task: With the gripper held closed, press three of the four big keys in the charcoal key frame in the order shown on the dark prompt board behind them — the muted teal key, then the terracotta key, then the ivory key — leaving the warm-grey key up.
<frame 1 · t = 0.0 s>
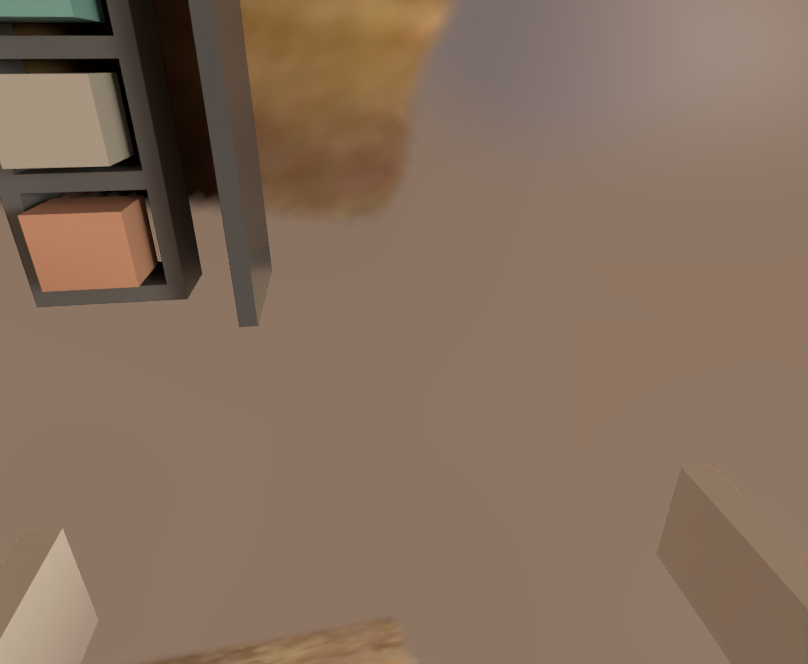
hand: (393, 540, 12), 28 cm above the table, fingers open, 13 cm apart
key 4: (94, 241, 31), point 5 cm above the table, slide at 0.0 cm
key frame: (81, 49, 30), on the table
prompt screen: (236, 49, 31), on the table
key 3: (61, 118, 28), point 5 cm above the table, slide at 0.0 cm
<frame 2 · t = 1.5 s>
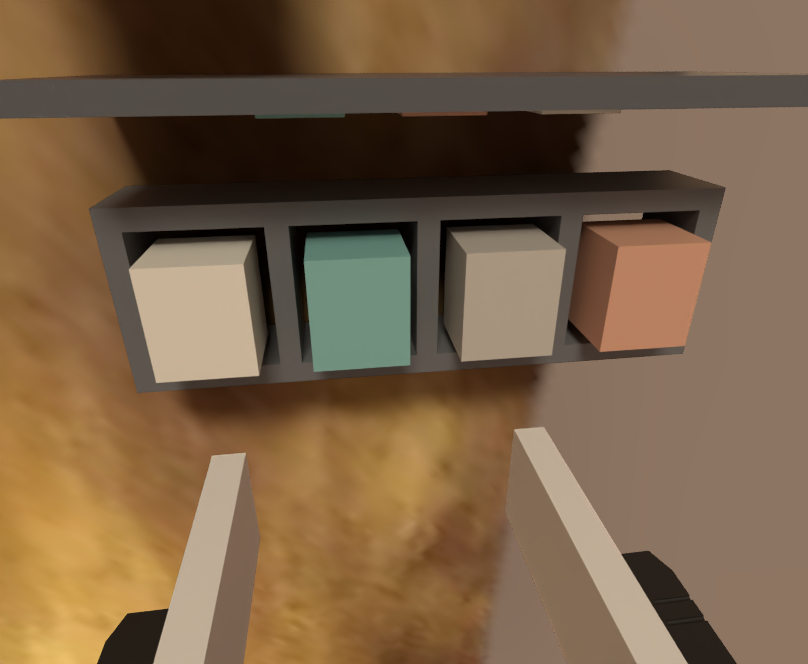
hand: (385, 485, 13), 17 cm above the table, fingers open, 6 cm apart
key 2: (357, 297, 24), point 5 cm above the table, slide at 0.0 cm
key 1: (207, 306, 23), point 5 cm above the table, slide at 0.0 cm
key 4: (630, 282, 26), point 5 cm above the table, slide at 0.0 cm
key frame: (413, 260, 29), on the table
prompt screen: (414, 85, 25), on the table
key 3: (498, 290, 25), point 5 cm above the table, slide at 0.0 cm
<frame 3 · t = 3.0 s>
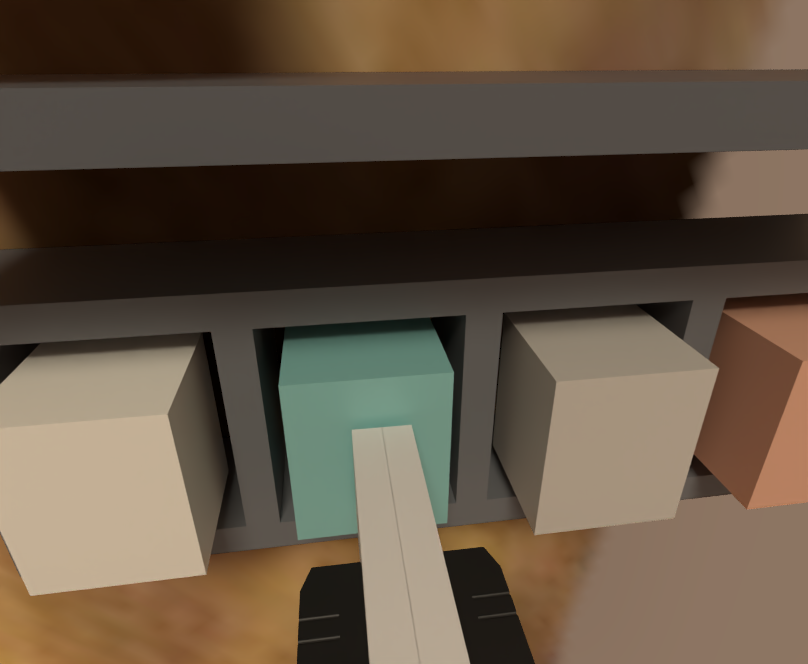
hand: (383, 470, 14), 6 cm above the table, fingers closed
key 2: (365, 416, 16), point 4 cm above the table, slide at 0.8 cm, touching gripper
key 1: (121, 455, 14), point 5 cm above the table, slide at 0.0 cm
key 4: (785, 394, 17), point 5 cm above the table, slide at 0.0 cm
key frame: (444, 344, 20), on the table
prompt screen: (453, 90, 16), on the table
key 3: (587, 412, 16), point 5 cm above the table, slide at 0.0 cm
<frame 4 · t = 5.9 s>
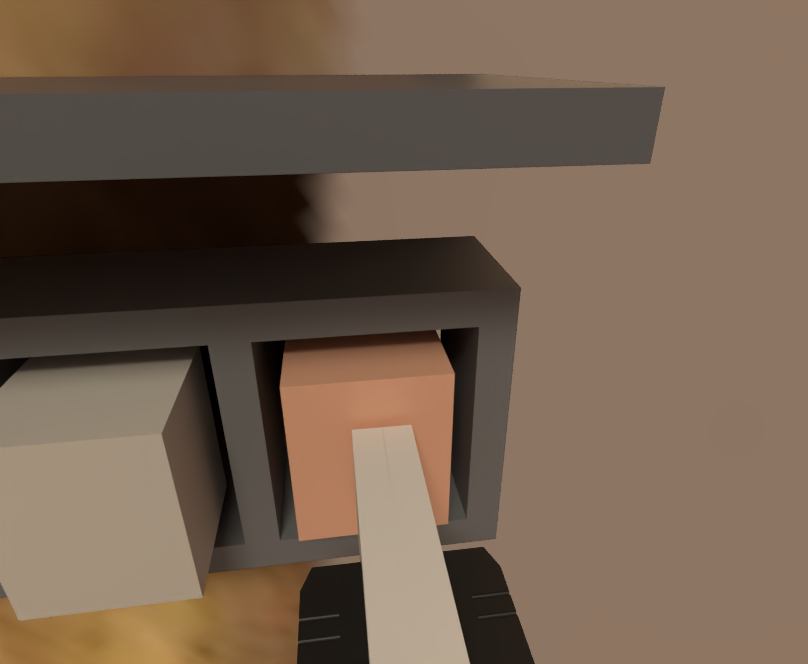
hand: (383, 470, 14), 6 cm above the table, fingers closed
key 4: (366, 417, 16), point 3 cm above the table, slide at 1.5 cm, touching gripper
key frame: (58, 383, 18), on the table
key 3: (115, 472, 14), point 5 cm above the table, slide at 0.0 cm
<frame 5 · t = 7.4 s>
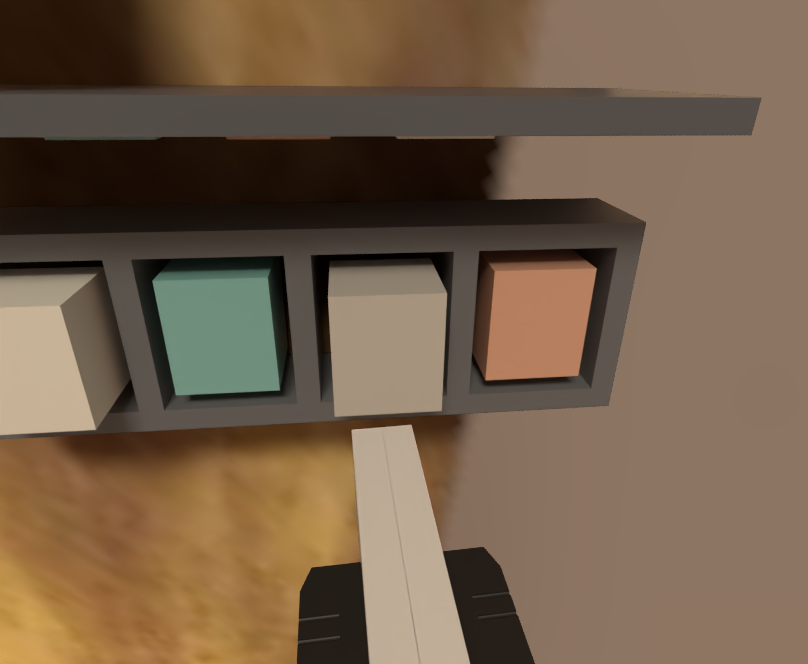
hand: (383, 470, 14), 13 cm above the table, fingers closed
key 2: (229, 318, 23), point 3 cm above the table, slide at 2.2 cm
key 1: (43, 347, 21), point 5 cm above the table, slide at 0.0 cm
key 4: (524, 307, 24), point 3 cm above the table, slide at 2.1 cm
key frame: (309, 293, 26), on the table
prompt screen: (294, 99, 22), on the table
key 3: (384, 334, 22), point 5 cm above the table, slide at 0.0 cm
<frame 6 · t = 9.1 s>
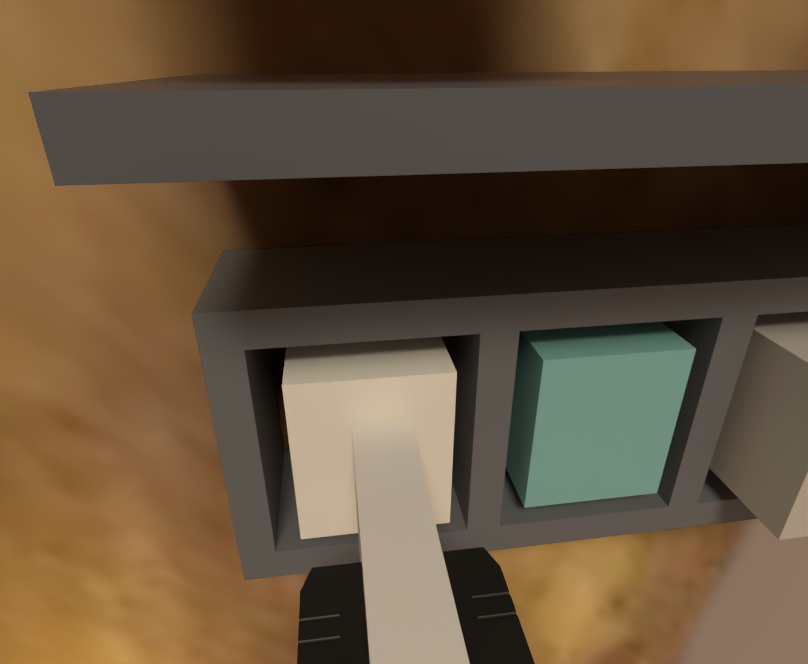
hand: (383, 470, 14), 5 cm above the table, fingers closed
key 2: (575, 393, 17), point 3 cm above the table, slide at 2.2 cm
key 1: (367, 416, 16), point 3 cm above the table, slide at 1.9 cm, touching gripper
key frame: (629, 346, 20), on the table
prompt screen: (683, 90, 16), on the table
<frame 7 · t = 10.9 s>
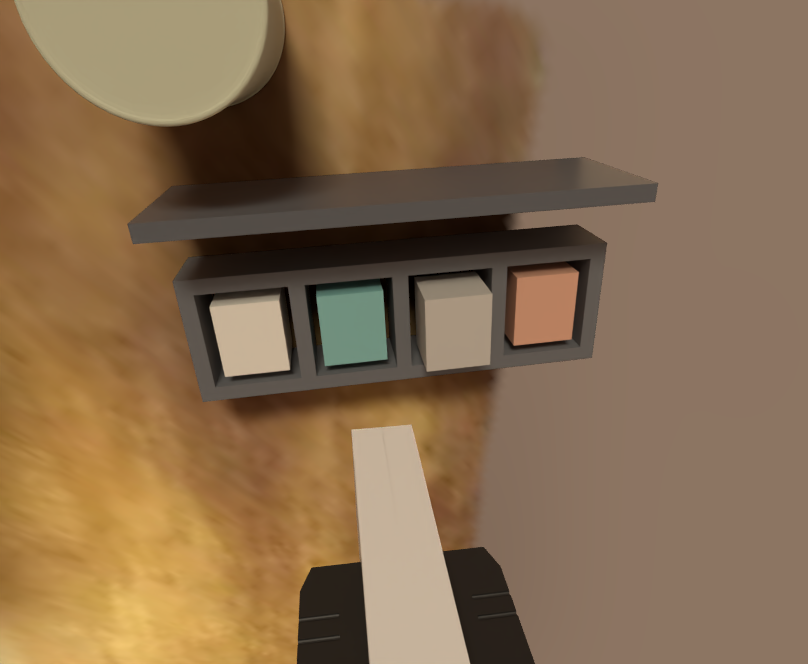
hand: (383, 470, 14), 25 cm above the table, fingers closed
key 2: (351, 316, 37), point 3 cm above the table, slide at 2.2 cm
can: (201, 19, 31), on the table
key 1: (254, 326, 36), point 3 cm above the table, slide at 2.2 cm
key 4: (534, 298, 38), point 3 cm above the table, slide at 2.1 cm
key frame: (393, 297, 40), on the table
prompt screen: (387, 178, 36), on the table
key 3: (451, 320, 36), point 5 cm above the table, slide at 0.0 cm
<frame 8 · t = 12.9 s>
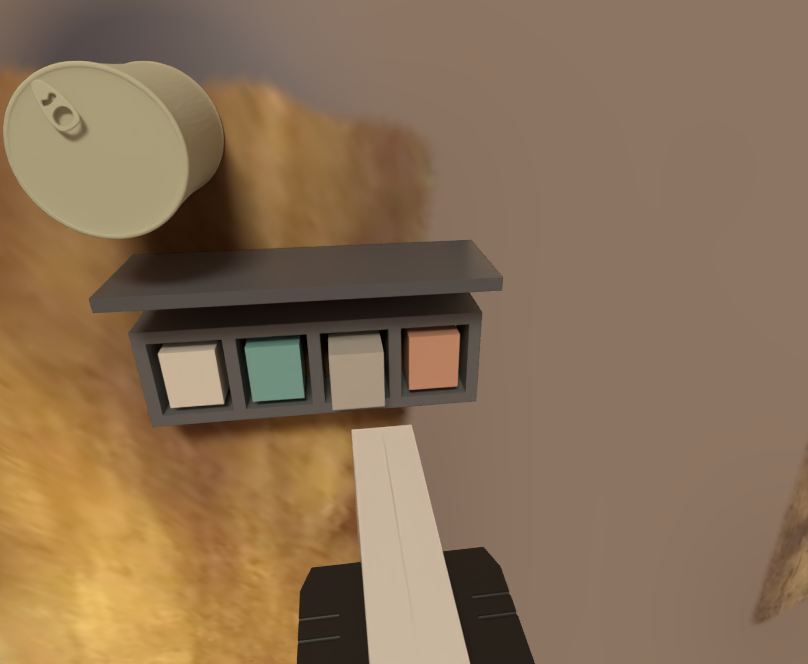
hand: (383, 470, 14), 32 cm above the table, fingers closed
key 2: (277, 361, 45), point 3 cm above the table, slide at 2.2 cm
can: (158, 132, 39), on the table
key 1: (197, 367, 45), point 3 cm above the table, slide at 2.2 cm
key 4: (429, 351, 47), point 3 cm above the table, slide at 2.1 cm
key frame: (316, 344, 48), on the table
prompt screen: (308, 252, 44), on the table
key 3: (356, 369, 44), point 5 cm above the table, slide at 0.0 cm
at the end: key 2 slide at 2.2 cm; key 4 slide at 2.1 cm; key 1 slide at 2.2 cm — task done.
